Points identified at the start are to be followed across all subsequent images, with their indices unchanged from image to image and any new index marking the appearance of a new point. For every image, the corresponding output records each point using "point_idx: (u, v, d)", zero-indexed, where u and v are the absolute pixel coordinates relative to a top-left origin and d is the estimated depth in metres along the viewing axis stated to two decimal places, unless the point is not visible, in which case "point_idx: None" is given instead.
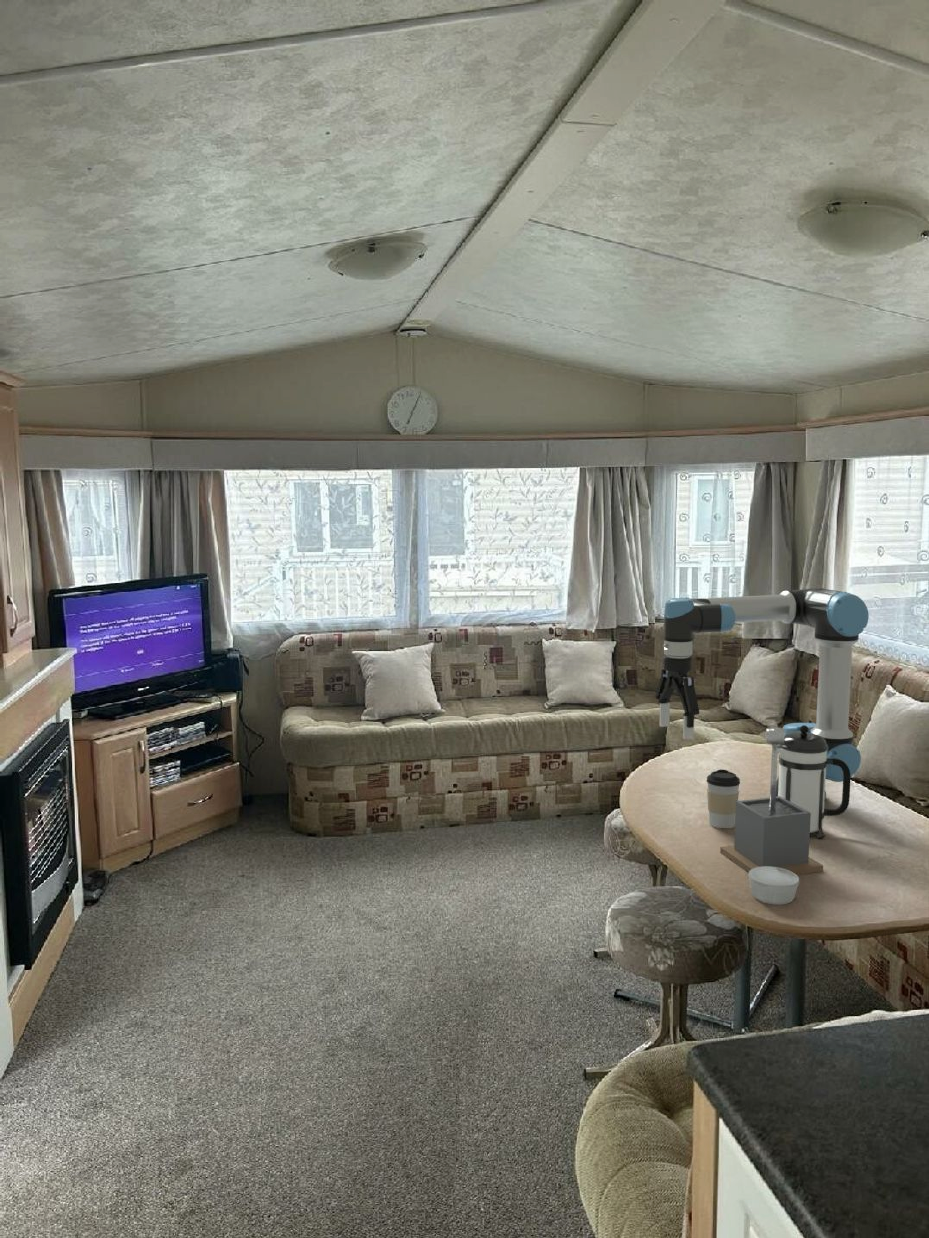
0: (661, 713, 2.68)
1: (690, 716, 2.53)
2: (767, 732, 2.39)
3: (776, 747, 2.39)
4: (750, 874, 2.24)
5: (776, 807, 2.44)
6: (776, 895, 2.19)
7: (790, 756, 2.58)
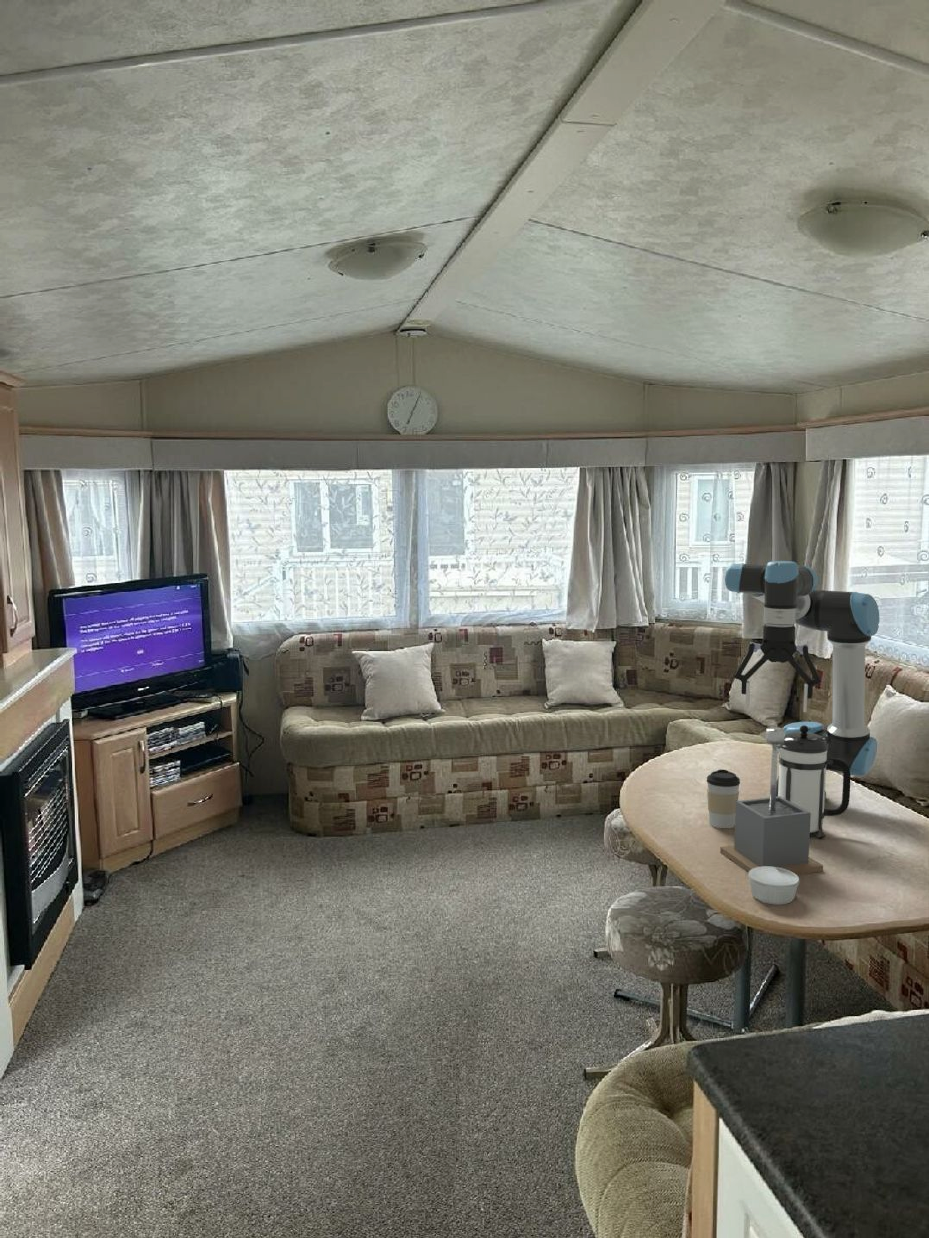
0: (748, 693, 2.39)
1: None
2: (767, 732, 2.39)
3: (776, 747, 2.39)
4: (750, 874, 2.24)
5: (776, 807, 2.44)
6: (776, 895, 2.19)
7: (790, 756, 2.58)
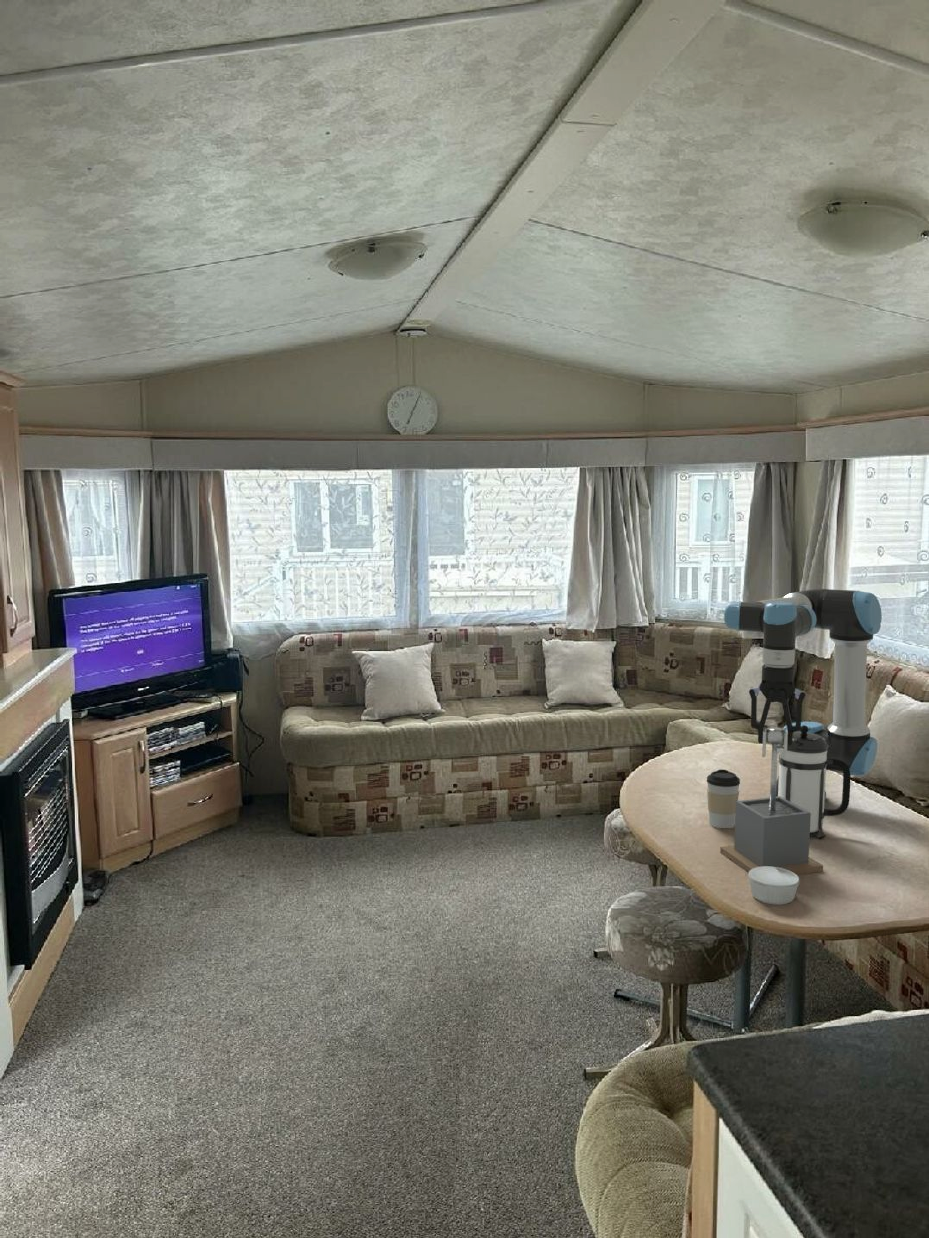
0: (765, 742, 2.40)
1: None
2: (767, 732, 2.39)
3: (776, 747, 2.39)
4: (750, 874, 2.24)
5: (776, 807, 2.44)
6: (776, 895, 2.19)
7: (790, 756, 2.58)
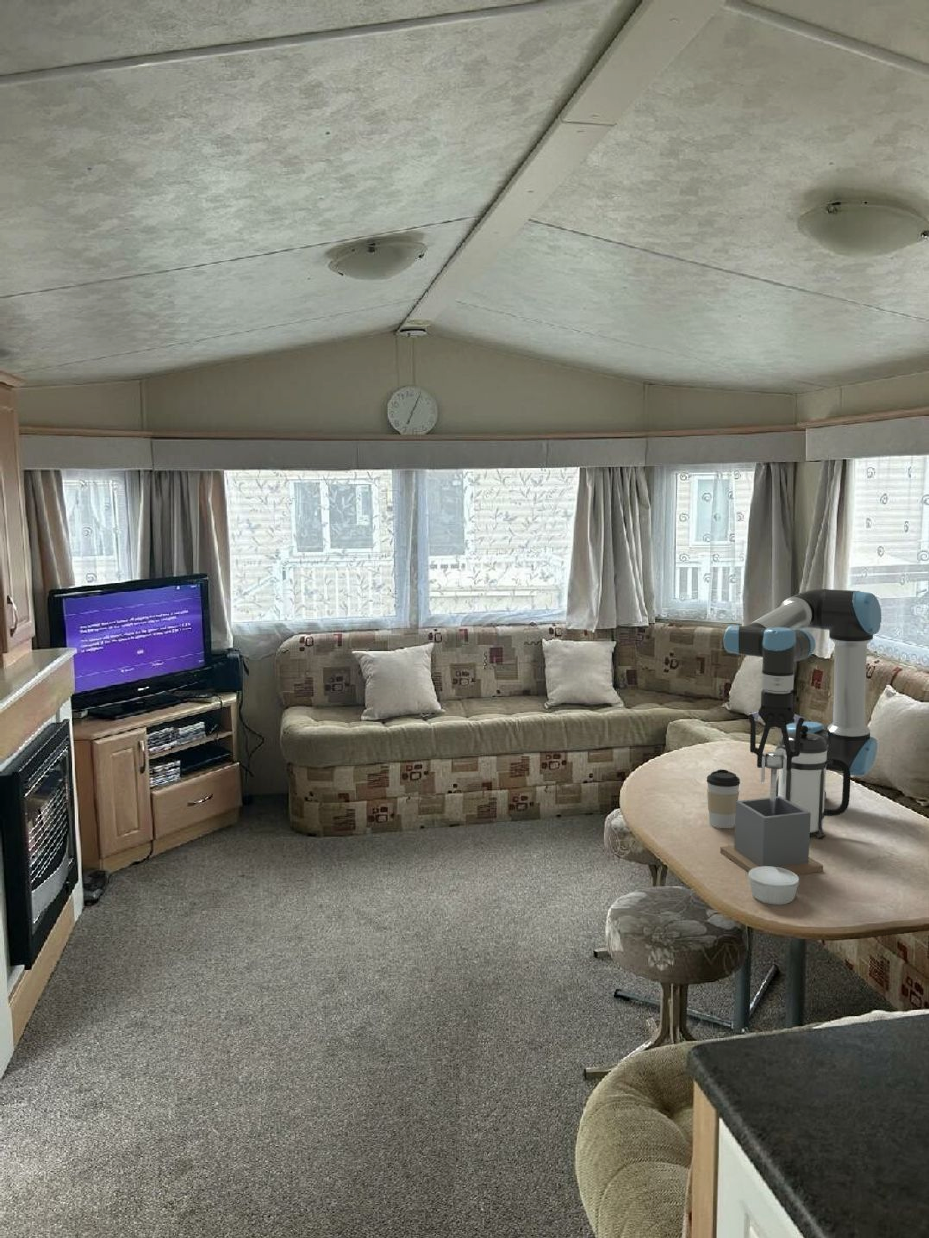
0: (764, 767, 2.41)
1: None
2: (766, 757, 2.40)
3: (775, 772, 2.40)
4: (750, 874, 2.24)
5: None
6: (776, 895, 2.19)
7: None
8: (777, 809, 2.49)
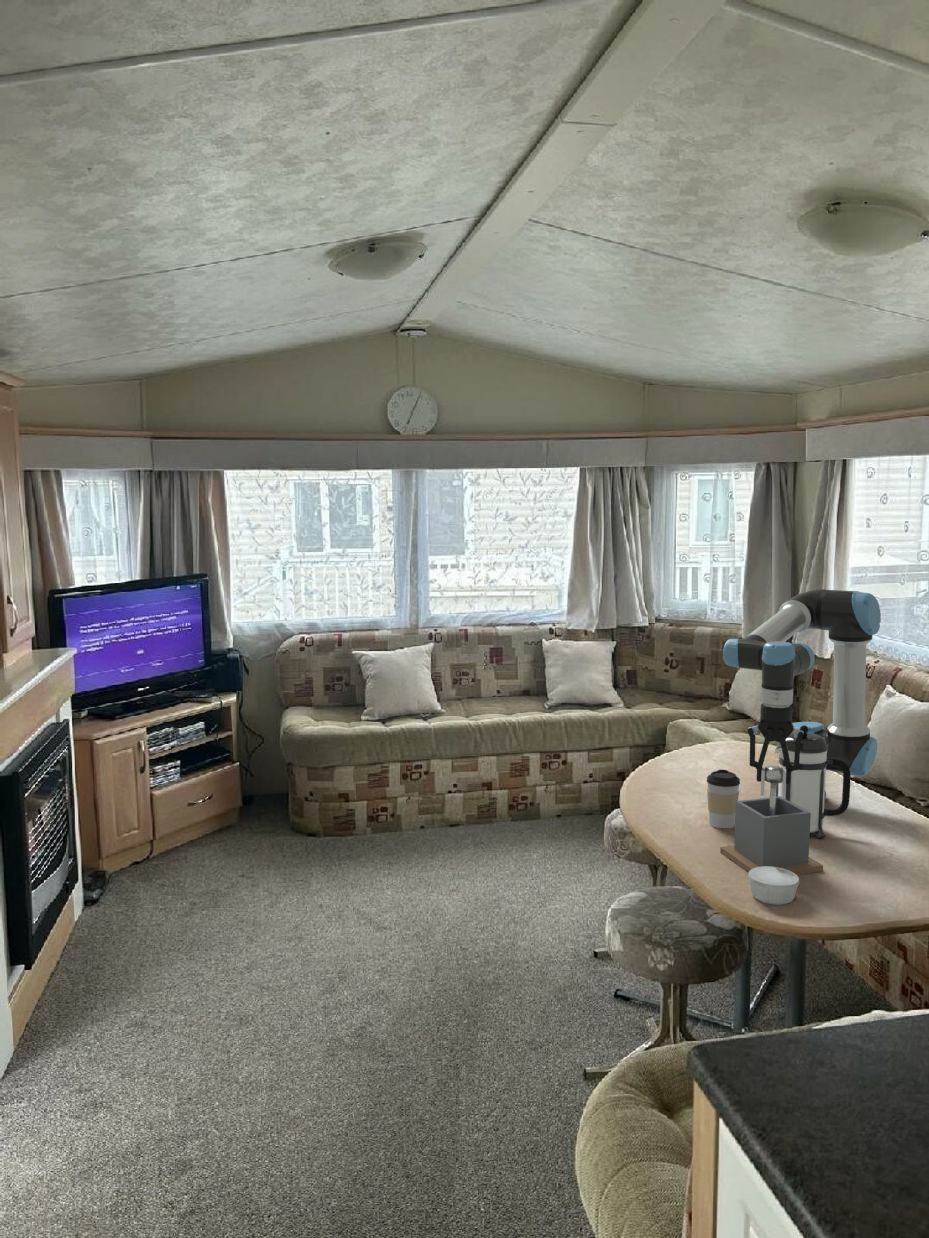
0: (764, 780, 2.41)
1: None
2: (766, 771, 2.41)
3: (774, 786, 2.41)
4: (750, 874, 2.25)
5: None
6: (776, 895, 2.19)
7: (790, 756, 2.58)
8: (777, 809, 2.49)
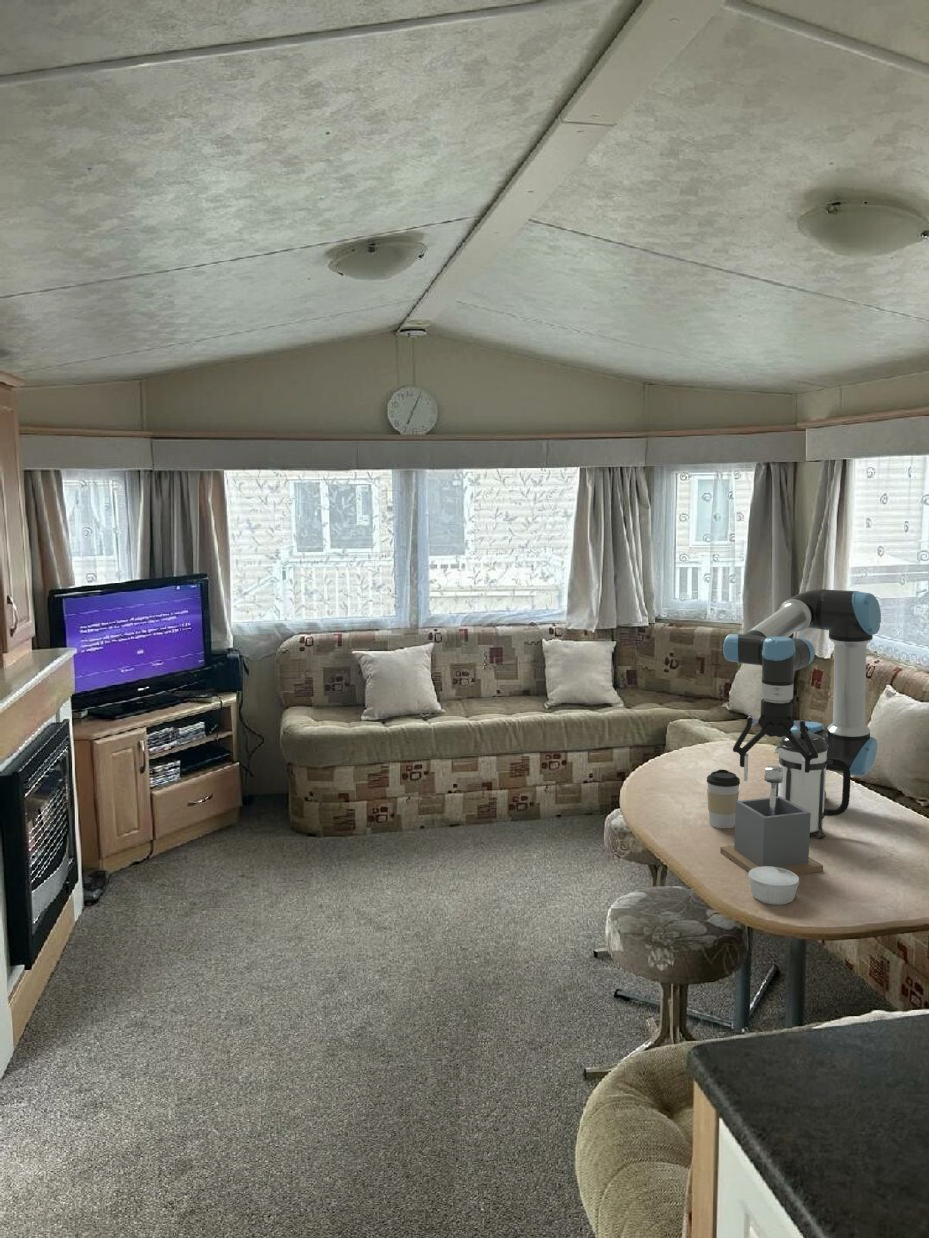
0: (747, 766, 2.42)
1: None
2: (766, 771, 2.41)
3: (774, 786, 2.41)
4: (750, 874, 2.24)
5: None
6: (776, 895, 2.19)
7: (790, 756, 2.58)
8: (777, 809, 2.49)
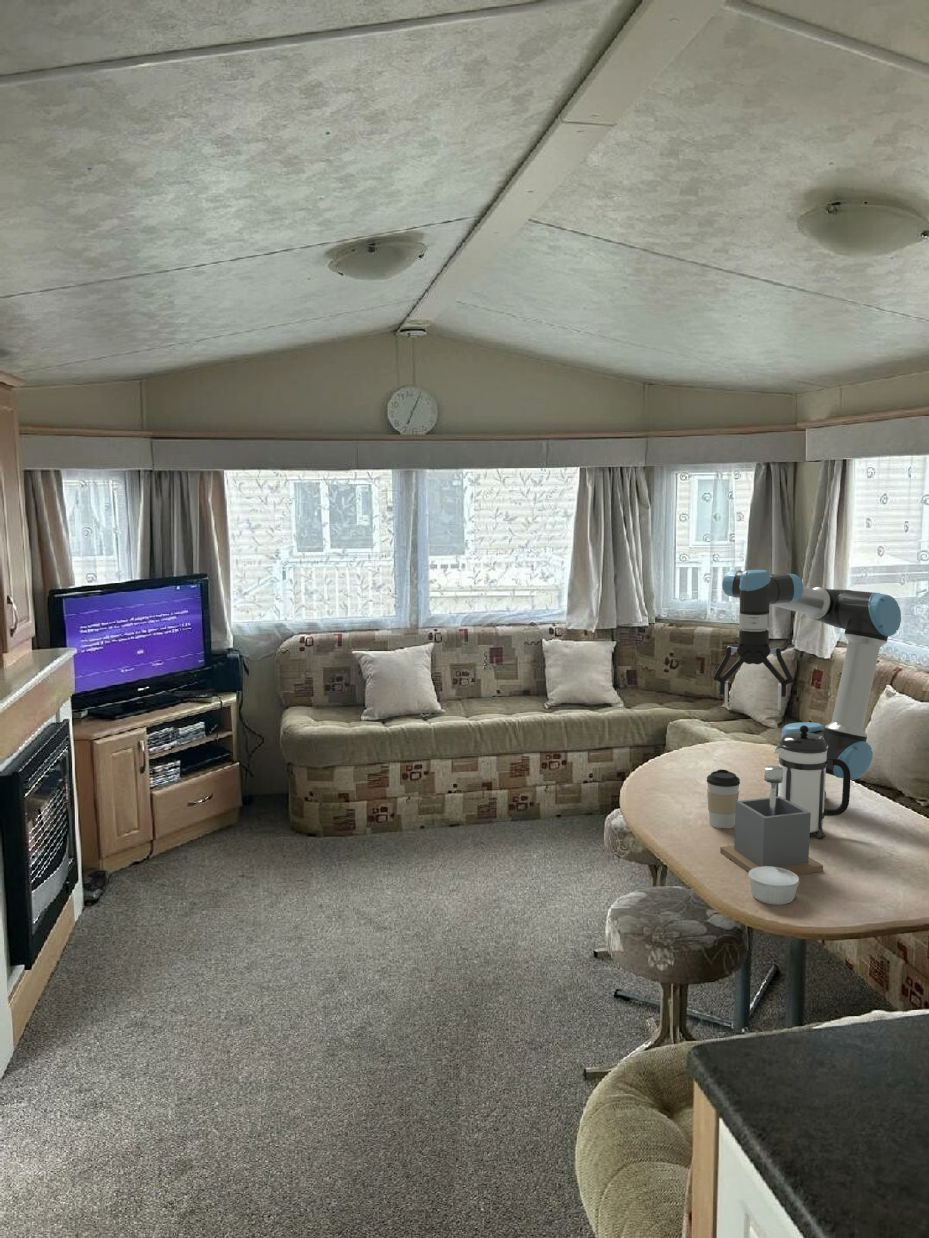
0: (727, 693, 2.57)
1: None
2: (766, 771, 2.41)
3: (774, 786, 2.41)
4: (750, 874, 2.24)
5: None
6: (776, 895, 2.19)
7: (790, 756, 2.58)
8: (777, 809, 2.49)
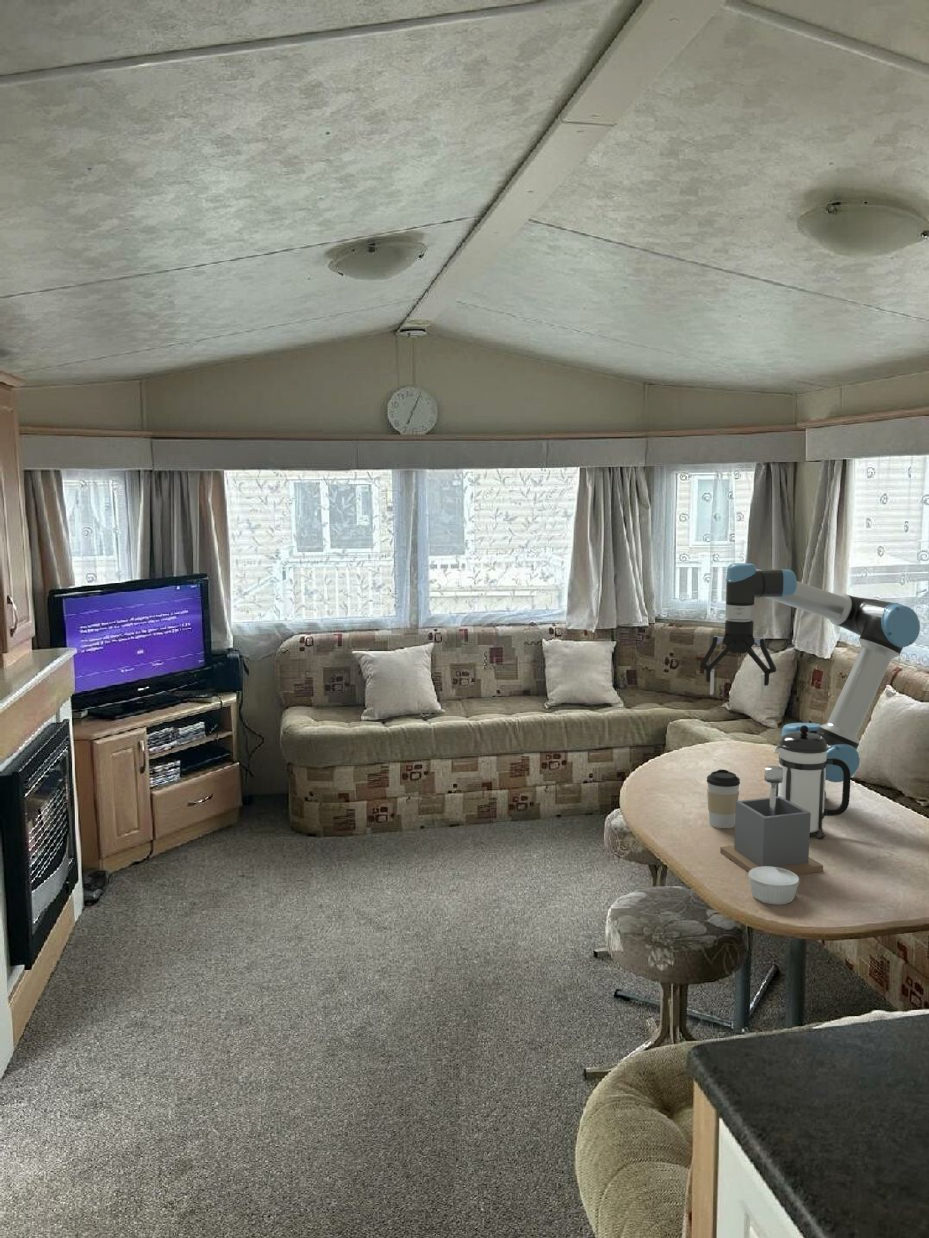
0: (712, 681, 2.68)
1: None
2: (766, 771, 2.41)
3: (774, 786, 2.41)
4: (750, 874, 2.25)
5: None
6: (776, 895, 2.19)
7: (790, 756, 2.58)
8: (777, 809, 2.49)
